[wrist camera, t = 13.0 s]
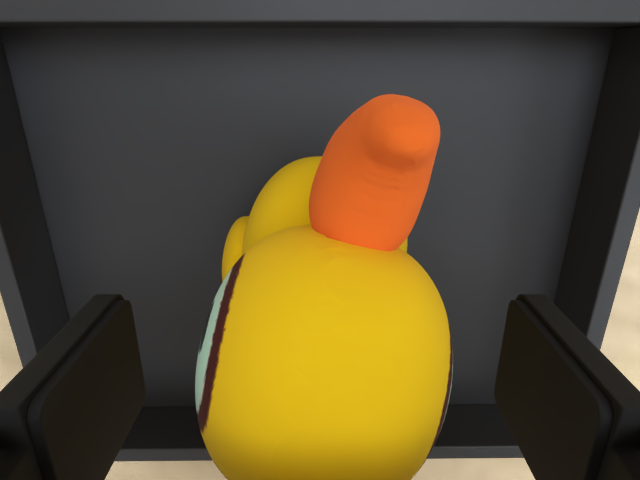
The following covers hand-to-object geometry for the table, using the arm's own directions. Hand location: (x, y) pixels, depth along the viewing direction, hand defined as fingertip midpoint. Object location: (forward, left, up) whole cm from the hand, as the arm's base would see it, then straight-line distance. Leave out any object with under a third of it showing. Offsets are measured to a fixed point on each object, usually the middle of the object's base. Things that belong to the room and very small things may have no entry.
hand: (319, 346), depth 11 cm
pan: (0, 0, -6) cm, 6 cm away
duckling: (0, 0, -5) cm, 5 cm away
